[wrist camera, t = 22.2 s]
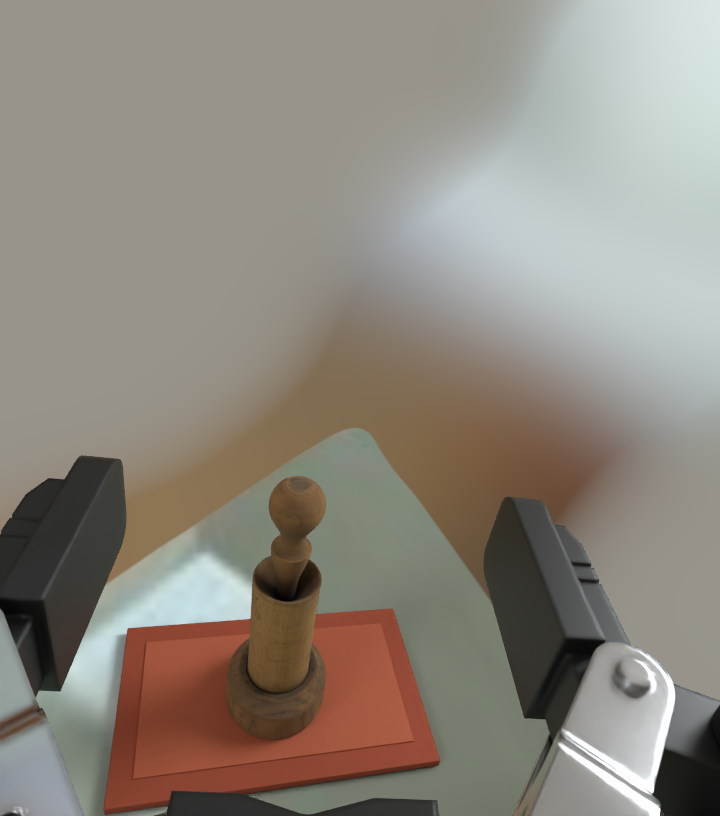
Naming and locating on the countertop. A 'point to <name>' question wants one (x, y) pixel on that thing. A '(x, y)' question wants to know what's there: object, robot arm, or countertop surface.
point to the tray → (242, 752)
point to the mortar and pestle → (282, 624)
